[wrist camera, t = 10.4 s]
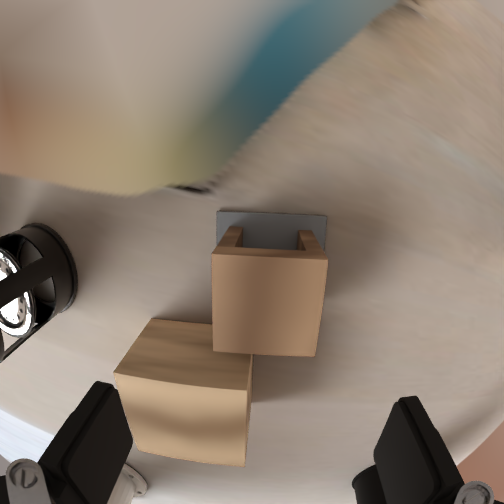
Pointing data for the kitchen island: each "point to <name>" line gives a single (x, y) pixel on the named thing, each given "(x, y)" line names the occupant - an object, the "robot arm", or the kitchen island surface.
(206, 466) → the kitchen island surface
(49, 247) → the french press
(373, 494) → the aerosol can
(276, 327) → the u-shaped wooden block
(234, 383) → the plinth
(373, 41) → the kitchen island surface
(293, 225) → the coaster
